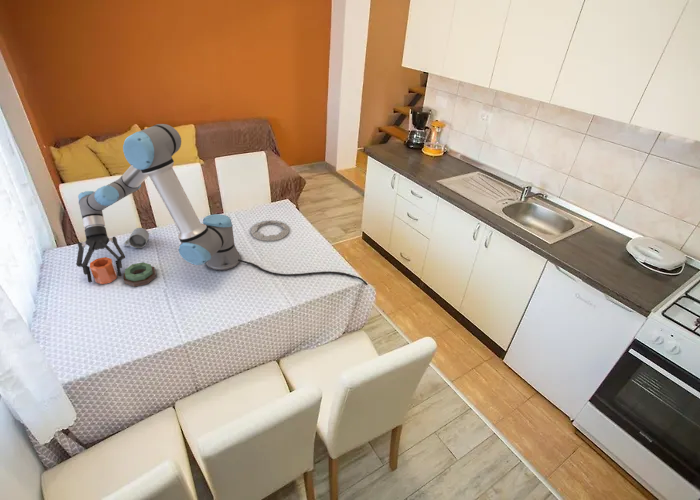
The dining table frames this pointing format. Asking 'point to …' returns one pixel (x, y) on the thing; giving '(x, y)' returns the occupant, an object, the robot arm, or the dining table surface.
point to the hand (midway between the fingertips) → (105, 278)
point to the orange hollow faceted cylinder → (103, 270)
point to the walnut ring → (140, 282)
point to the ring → (270, 237)
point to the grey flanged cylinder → (138, 238)
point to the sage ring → (142, 275)
